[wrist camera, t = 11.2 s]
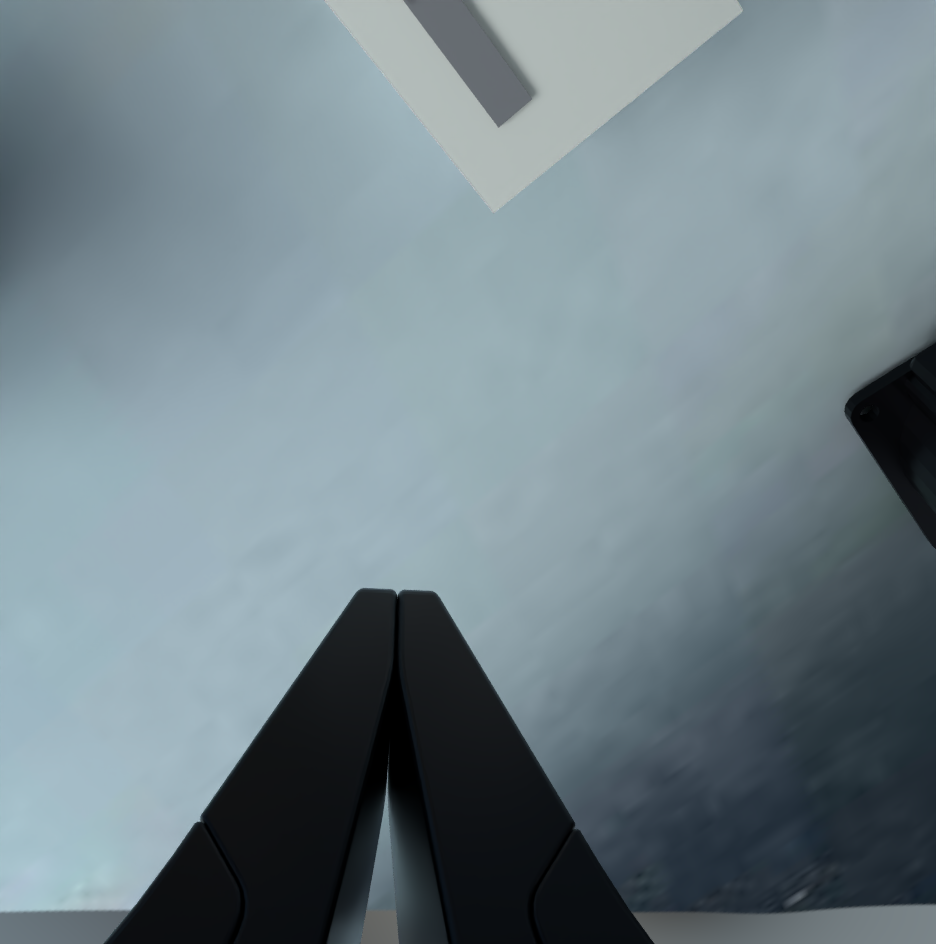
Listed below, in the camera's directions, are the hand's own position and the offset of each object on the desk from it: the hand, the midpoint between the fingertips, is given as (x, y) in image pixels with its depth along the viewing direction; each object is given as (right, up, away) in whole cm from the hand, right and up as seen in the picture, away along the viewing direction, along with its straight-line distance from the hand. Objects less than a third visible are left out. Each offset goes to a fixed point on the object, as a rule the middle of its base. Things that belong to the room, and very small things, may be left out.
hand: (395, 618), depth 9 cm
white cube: (+1, +12, +8) cm, 14 cm away
